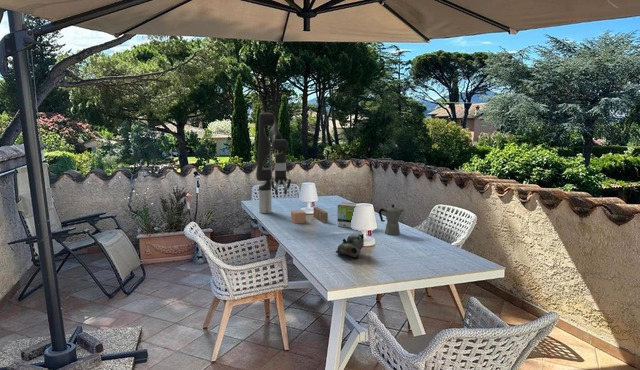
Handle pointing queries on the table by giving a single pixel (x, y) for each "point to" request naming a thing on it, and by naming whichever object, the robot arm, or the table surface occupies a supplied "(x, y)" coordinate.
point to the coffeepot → (391, 220)
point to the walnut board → (321, 215)
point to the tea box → (345, 214)
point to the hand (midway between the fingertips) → (280, 194)
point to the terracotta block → (298, 216)
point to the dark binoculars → (351, 245)
